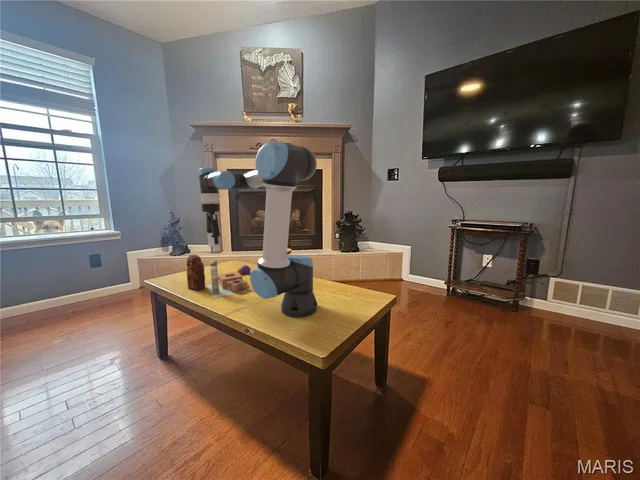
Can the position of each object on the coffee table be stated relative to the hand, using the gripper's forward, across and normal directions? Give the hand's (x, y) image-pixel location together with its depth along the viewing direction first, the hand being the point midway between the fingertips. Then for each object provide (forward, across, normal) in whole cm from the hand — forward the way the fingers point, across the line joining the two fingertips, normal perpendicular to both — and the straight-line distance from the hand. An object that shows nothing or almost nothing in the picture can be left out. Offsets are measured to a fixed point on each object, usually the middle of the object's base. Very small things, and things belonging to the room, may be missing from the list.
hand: (214, 248), depth 122 cm
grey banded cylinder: (+22, -1, +1) cm, 22 cm away
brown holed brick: (+22, -1, -9) cm, 24 cm away
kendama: (+23, +22, -14) cm, 35 cm away
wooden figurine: (+23, +13, +8) cm, 27 cm away
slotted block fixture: (+23, +4, -5) cm, 24 cm away
